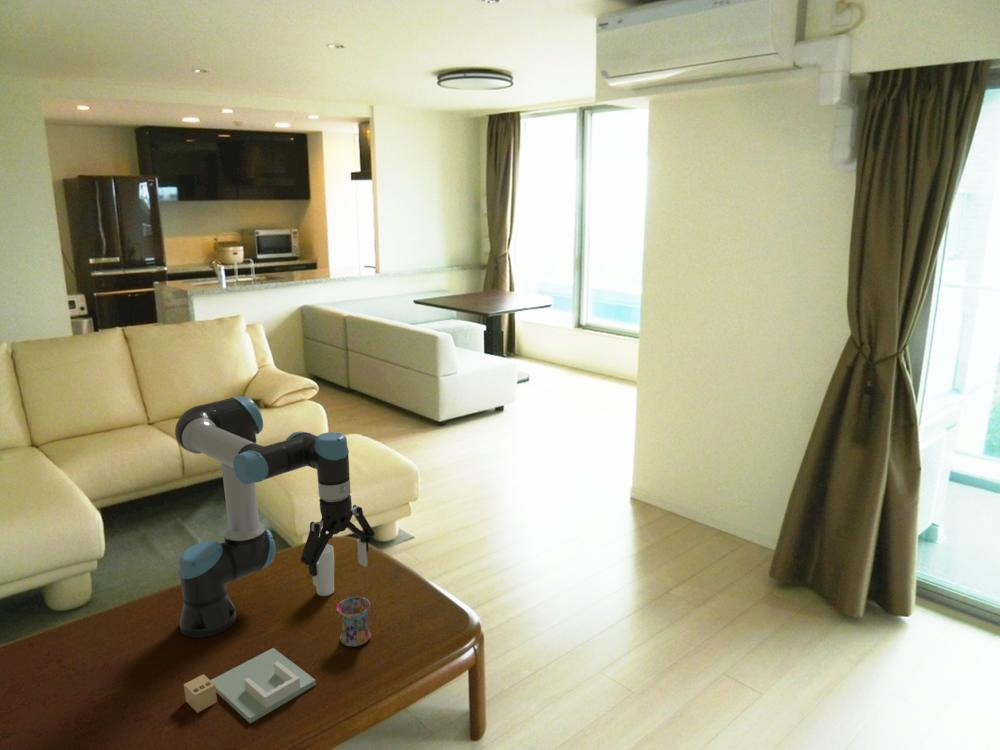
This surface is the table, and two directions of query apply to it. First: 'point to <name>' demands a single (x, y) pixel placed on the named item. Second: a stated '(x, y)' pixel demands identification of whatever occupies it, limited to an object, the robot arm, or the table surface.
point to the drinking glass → (327, 571)
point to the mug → (354, 621)
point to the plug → (200, 693)
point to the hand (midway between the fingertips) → (341, 575)
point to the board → (262, 684)
